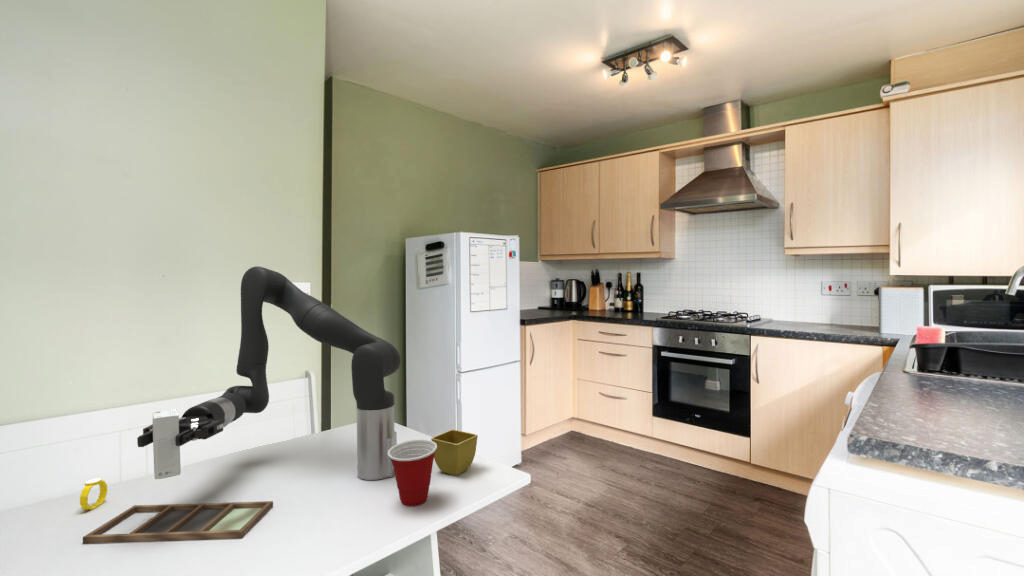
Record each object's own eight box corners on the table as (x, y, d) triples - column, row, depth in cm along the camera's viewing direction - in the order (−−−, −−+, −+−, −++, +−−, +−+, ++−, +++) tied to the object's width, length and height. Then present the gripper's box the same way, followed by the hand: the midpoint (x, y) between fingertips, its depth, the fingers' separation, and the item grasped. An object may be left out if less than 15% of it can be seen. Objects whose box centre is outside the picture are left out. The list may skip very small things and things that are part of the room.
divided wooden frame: (272, 506, 101) (272, 501, 101) (241, 538, 88) (241, 531, 88) (134, 511, 100) (134, 505, 100) (82, 543, 87) (82, 537, 87)
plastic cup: (378, 501, 103) (377, 447, 103) (418, 486, 111) (418, 435, 111) (406, 518, 95) (405, 460, 95) (447, 499, 103) (447, 446, 103)
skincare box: (181, 475, 93) (181, 414, 93) (152, 481, 90) (152, 418, 90) (179, 465, 98) (179, 408, 97) (152, 470, 95) (152, 411, 95)
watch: (91, 514, 99) (88, 487, 99) (76, 515, 99) (74, 488, 99) (111, 499, 105) (109, 473, 105) (98, 500, 105) (96, 474, 105)
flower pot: (479, 468, 121) (478, 434, 121) (457, 481, 113) (457, 444, 113) (452, 462, 125) (452, 429, 125) (430, 473, 118) (430, 438, 118)
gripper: (177, 401, 108) (120, 423, 91) (240, 400, 108) (195, 421, 92) (178, 434, 108) (121, 461, 91) (241, 432, 108) (196, 459, 92)
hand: (158, 441), depth 91 cm, fingers closed on skincare box, 6 cm apart
